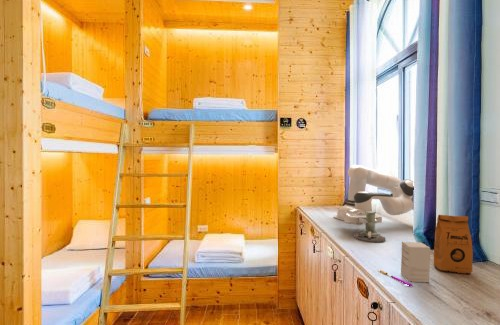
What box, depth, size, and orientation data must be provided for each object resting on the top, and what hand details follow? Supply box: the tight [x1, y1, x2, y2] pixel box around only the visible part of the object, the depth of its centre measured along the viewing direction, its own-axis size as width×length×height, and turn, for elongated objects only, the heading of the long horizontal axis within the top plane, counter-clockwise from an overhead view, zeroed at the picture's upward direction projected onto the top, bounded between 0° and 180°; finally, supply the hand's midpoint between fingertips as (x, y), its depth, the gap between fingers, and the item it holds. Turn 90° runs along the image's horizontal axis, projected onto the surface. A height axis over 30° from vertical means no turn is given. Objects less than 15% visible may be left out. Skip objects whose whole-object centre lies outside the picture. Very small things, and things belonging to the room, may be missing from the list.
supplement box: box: [400, 241, 431, 283], centre depth 117 cm, size 7×7×13 cm
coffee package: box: [433, 214, 474, 274], centre depth 127 cm, size 10×12×22 cm
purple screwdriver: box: [378, 269, 414, 287], centre depth 116 cm, size 3×1×16 cm
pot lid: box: [353, 231, 387, 244], centre depth 174 cm, size 16×16×5 cm
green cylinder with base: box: [361, 211, 379, 236], centre depth 174 cm, size 8×8×12 cm
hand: (371, 221), depth 173 cm, fingers closed on green cylinder with base, 4 cm apart
